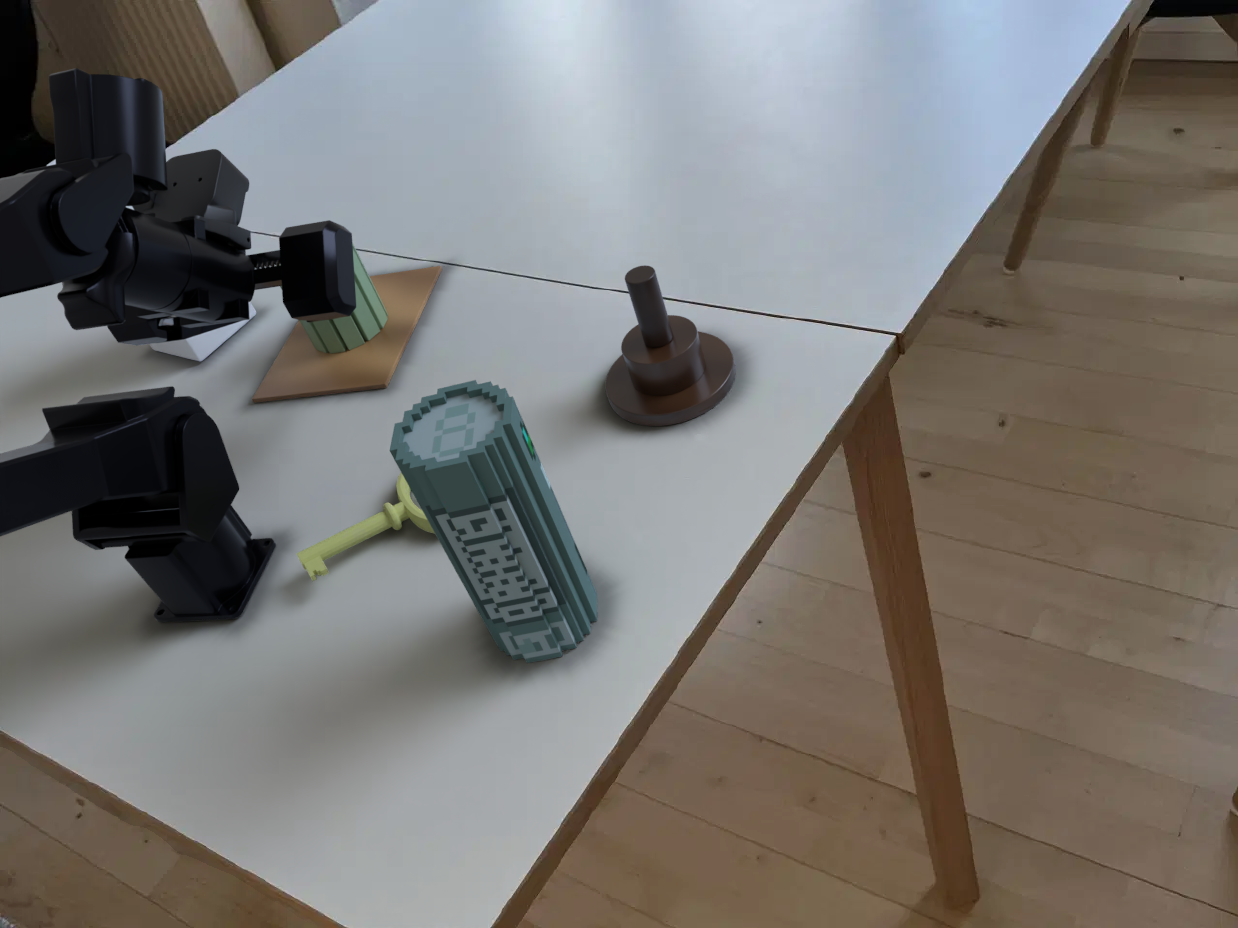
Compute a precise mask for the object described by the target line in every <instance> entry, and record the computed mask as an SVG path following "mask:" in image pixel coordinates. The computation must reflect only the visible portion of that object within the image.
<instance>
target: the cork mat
mask: <svg viewBox="0 0 1238 928" xmlns="http://www.w3.org/2000/svg"><path fill="white" fill-rule="evenodd" d="M442 271H443V268H442V265H437V266H429V267H423V268H417V269H416V268H415V269H409V270H403V271H395V272H391V273H390V272H389V273H383V274H382V273H381V274H377V275H369V277H370V279H371V281H372V283H373V285H374V287H375V289H376V291H377V293H378V295H379V297H380V299H381V301H382V303H383V305H384V307H385V309H386V311H387V314H388V316H387V318H388V319H387V321H386V323H385V325H384V327H383V328H382V329H380V332H379V333H378V334H377V335H375V336H374V337H373V338H372V339H371V340H369V341H368V340H365V339H364V342H365V344H363V345H361V346H358V347H356V348H354V349H352V350H349V349H348V347H347V349H346V351H345V352H339V353H332V354H330V352H328V353H324V352H321V351H319V350H317V349H316V348H315V347H314V346H313V344H312V342H311V340H310V339H309V337H308V335H307V333H306V331H305V330H304V328H303V326H302V324H301V323H300V321H299V320H298V321H297V323H296V324H295V326H294V328H293V329H292V331H291V332H290V334H289V335H288V338H287V339H286V341H285V343H284V344H283V345H282V347H281V349H280V351H279V352H278V355H277V356H276V357H275V360H274V361H273V362H272V364H271V366H270V367H269V370H268V371H267V373H266V374H265V376H264V377H263V379H262V381H261V383H260V385H259V386H258V388H257V389H256V390H255V393H254V394H253V396H252V398H251V401H252V403H256V404H257V403H264V402H265V403H266V402H272V401H273V402H274V401H281V400H282V401H283V400H291V399H300V398H308V397H317V396H326V395H334V394H342V393H351V392H359V391H361V392H362V391H368V390H369V391H371V390H379V389H386V388H388V386H389V385H390V382H391V380H392V378H393V375H394V373H395V371H396V369H397V368H398V364H399V363H400V360H401V358H402V356H403V354H404V352H405V350H406V349H407V345H408V343H409V341H410V339H411V337H412V335H413V334H414V330H415V329H416V326H417V324H418V322H419V320H420V318H421V316H422V313H423V311H424V309H425V307H426V305H427V303H428V301H429V298H430V297H431V293H433V290H434V289H435V286H436V283H437V281H438V280H439V278H440V275H441V274H442Z"/></svg>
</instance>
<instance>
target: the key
mask: <svg viewBox="0 0 1238 928" xmlns="http://www.w3.org/2000/svg"><path fill="white" fill-rule="evenodd" d="M395 485H396V486H395V487H396V493H397V499H398V502H397V503H395V504H393V505H392V503H390V502H388V501H387V502H384V503H383V505H382V511H380V512H378V513H377V512H376V514H374V515H371V516H370V517H369V516H368V517H367V518H365V519H364V520H361V521H359V522H357V523H355V524H353V525H351V526H349V527H347V528H345V529H343V530H342V531H339V532H337V533H334V534H333V535H331V536H329V537H327V538H324V539H323V540H321V541H319V542H317V543H315V544H313V545H310V546H308V547H307V548H305V549H303V550H301V551H298V552H296V556H297V558H298V560H299V561H300V563H301V565H302V568H303V569H304V570H305V571H307V573H308V575H309V577H310V579H311V581H312V582H315V581H316V580H317V577H316V576H319V577H321V576H322V577H325V576H327V575H328V574H330V571H329V569H328V568H327V566H326V564H325V561H326V560H328V559H331V558H332V557H334V556H336V555H338V554H340V553H343V552H345V551H346V550H348V549H350V548H352V547H354V546H357V545H359V544H361V543H362V542H364V541H366V540H368V539H370V538H372V537H375V536H377V535H378V534H380V533H383V532H384V531H386V530H389V529H390V528H392V529H393V530H395V531H400V530H401V529H402V522H404V521H407V520H409V519H410V520H411V522H412V523H413V524H414V525H415V526H416V527H418V528H419V529H421V530H423V531H425V532H426V533H427V532H428V533H431V534H434V535H436V534H435V532H434V531H433V529H432V527H431V525H430V523H429V522H428V520H427V518H426V516H425V514H424V513H423V511H422V509H421V508H419V507H418V506H417V505H416V504H415V503H414V502H413V500H412V497H411V492H412V491H411V489H410V487H409V485H408V484H407V482H406V480H405V478H404V476H403V474H402V473H401V472H400V473H399V475H398V476H397V480H396V484H395Z"/></svg>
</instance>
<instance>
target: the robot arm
mask: <svg viewBox="0 0 1238 928" xmlns="http://www.w3.org/2000/svg"><path fill="white" fill-rule="evenodd" d="M48 91H49V99H50V103H51V107H52V114H53V115H52V116H53V135H54V155H55V159H56V164H55V165H50V166H47V165H45V166H40V167H35V168H31V169H26V170H25V171H23V172H19V173H17V174H15V175H11V176H6V177H1V178H0V299H1V298H5V297H8V296H13V295H17V294H21V293H25V292H30V291H34V290H39V289H41V288H47V287H51V286H54V285H57V284H61V285H62V289H61V290H60V291H59V292H58V293H57V294H56V295H57V296H56V298H57V300H58V301H59V302H60V304H61V305H62V306H63V311H64V312H63V313H64V317H65V319H66V321H67V322H68V324H69V326H70V328H71V329H73V330H75V331H79V330H80V331H81V330H88V329H89V330H90V329H95V328H102V327H106V328H107V329H108V331H109V332H110V334H111V335H112V336H113V338H114V339H115V341H116V342H117V343H119V344H123V345H129V346H136V347H137V346H145V345H149V344H152V343H163V342H170V341H177V340H184V339H187V338H190V337H193V336H197V335H200V334H202V333H206V332H209V331H212V330H215V329H218V328H221V327H225V326H228V325H231V324H234V323H237V322H240V321H243V320H249V321H250V320H251V319H250V318H249V302H251V301H252V300H253V299H254V298H253V297H254V295H255V291H257V290H263V289H265V290H266V289H271V288H277V287H280V286H282V289H281V292H282V293H281V294H282V295H281V297H282V303H283V306H284V307H285V309H286V311H287V312H288V314H289V316H290V319H294V320H298V321H299V320H305V321H307V322H315V321H322V320H329V319H337V318H340V317H348V316H350V315H351V314H352V312H353V311H354V310H355V308H356V292H355V276H354V260H353V244H354V243H353V244H352V242H353V233H352V232H351V231H350V230H349V229H347V228H346V227H345V226H344V225H341V224H339V223H337V222H334V221H332V220H322V221H317V222H311V223H305V224H299V225H298V224H297V225H293V226H288V227H285V228H284V230H283V231H282V233H281V234H280V236H279V237H278V241H279V242H278V245H279V249H277V250H271V251H264V252H259V253H252V254H247V253H246V252H247V250H251V249H252V236H251V235H252V234H251V230H249V229H247V228H244V227H241V226H239V225H240V223H241V220H242V217H243V216H242V215H243V209H244V205H245V200H246V195H247V192H249V190H250V180H249V178H248V177H247V176H245V174H244V173H243V172H242V171H241V170H240V169H239V168H238V167H237V166H236V165H235V164H234V163H233V162H232V161H231V160H230V159H229V158H227V156H225V154H223V152H221V150H219V149H217V148H210V149H205V150H200V151H195V152H190V153H186V154H181V155H176V156H173V157H171V158H169V159H168V160H167V151H166V135H165V134H166V133H165V132H166V131H165V119H164V117H165V114H164V99H163V98H164V96H163V91H162V90H161V88H160V87H159V86H158V85H157V84H155V83H154V82H152V81H150V80H148V79H146V78H142V77H138V78H132V77H128V76H122V75H116V74H106V73H104V74H103V73H91V74H90V73H88V72H86V71H84V70H82V69H80V68H77V67H76V68H72V69H71V68H70V69H67V70H63V71H62V70H61V71H58V72H53V73H50V74H49V75H48ZM126 206H132V207H133V209H134V210H133V209H130V208H127V207H126ZM175 393H176V388H175V387H174V386H172V385H170V386H164V387H163V386H162V387H154V388H148V389H139V390H132V391H131V390H130V391H123V392H114V393H105V394H98V395H90V396H84V397H82V398H81V399H80V400H79V401H77V402H76V403H73V404H65V405H57V406H47V407H42V408H41V411H42V414H43V416H44V418H45V421H46V424H47V426H48V429H49V430H48V431H47V433H46V434H45V435H44V436H43V438H42V439H41V440H39V441H37V442H36V443H33V444H30V445H27V446H23V447H19V448H16V449H12V450H8V451H4V452H1V453H0V538H1V537H4V536H6V535H9V534H12V533H14V532H17V531H20V530H23V529H26V528H28V527H30V526H34V525H37V524H40V523H42V522H44V521H45V522H46V521H47V520H51V519H53V518H56V517H58V516H61V515H64V514H67V513H69V512H71V523H72V524H71V527H72V536H73V539H74V540H75V541H77V542H78V543H81V544H83V545H84V546H86V547H89V548H91V549H93V550H94V551H101V550H102V551H103V550H105V549H107V548H121V547H122V548H123V547H127V549H128V550H127V552H126V553H125V555H124V560H126V562H127V563H128V564H129V565H130V566H131V567H132V568H133V570H134V571H135V572H136V573H137V575H138V576H139V577H140V578H141V579H142V580H143V581H144V583H145V584H146V585H147V586H148V587H149V588H150V589H151V591H152V592H153V593H154V594H155V595H156V596H157V598H158V599H159V600H160V602H159V604H158V606H157V607H156V609H155V611H154V613H153V618H154V619H155V620H156V621H157V622H158V623H176V622H179V623H180V622H196V621H197V622H198V621H199V622H200V621H217V620H218V621H219V620H235V619H237V618H239V617H241V616H242V615H243V613H244V612H245V609H246V607H247V606H248V603H249V602H250V600H251V597H252V596H253V594H254V591H255V589H256V587H257V585H258V584H259V581H260V579H261V577H262V575H263V573H264V571H265V569H266V567H267V566H268V564H269V561H270V559H271V558H272V556H273V554H274V551H275V549H276V548H277V543H276V541H275V540H274V538H272V537H265V538H264V537H263V538H252V536H253V534H252V532H251V530H250V528H249V527H248V526H247V524H246V523H245V522H244V521H243V518H241V516H240V515H239V513H238V512H237V511H236V509H235V508H234V507H233V505H232V504H233V502H234V500H235V498H236V497H237V495H238V493H239V491H240V485H239V482H238V479H237V476H236V473H235V470H234V468H233V465H232V462H231V460H230V456H229V454H228V452H227V451H228V450H227V449H226V445H225V443H224V440H223V436H222V434H221V432H220V429H219V427H218V425H217V423H216V421H215V420H214V419H213V418H212V417H211V416H210V415H209V414H208V413H207V411H206V410H205V409H204V407H202V406H201V403H200V401H199V399H198V398H196V397H193V396H190V395H185V396H183V395H181V396H179V395H178V396H175V395H176V394H175Z"/></svg>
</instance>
